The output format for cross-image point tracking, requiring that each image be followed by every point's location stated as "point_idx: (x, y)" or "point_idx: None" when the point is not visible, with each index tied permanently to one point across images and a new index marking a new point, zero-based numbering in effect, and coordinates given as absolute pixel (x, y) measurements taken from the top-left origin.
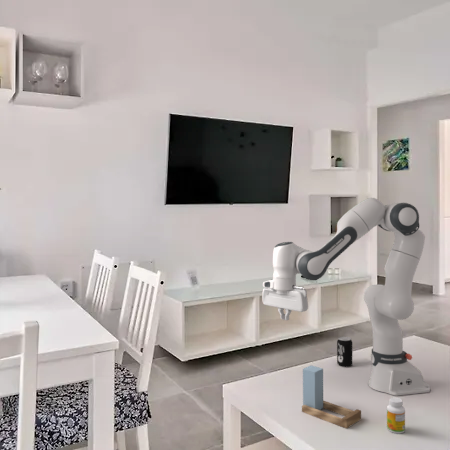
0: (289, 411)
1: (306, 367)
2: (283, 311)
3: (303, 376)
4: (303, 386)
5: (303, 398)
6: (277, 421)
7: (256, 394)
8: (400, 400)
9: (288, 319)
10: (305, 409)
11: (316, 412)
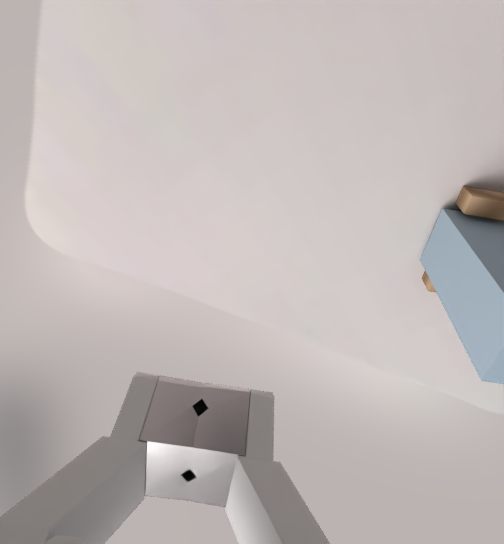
0: (377, 296)
1: (498, 358)
2: (94, 494)
3: (469, 350)
4: (451, 316)
5: (433, 282)
6: (368, 364)
7: (189, 240)
8: None
9: (271, 403)
10: None
11: None
